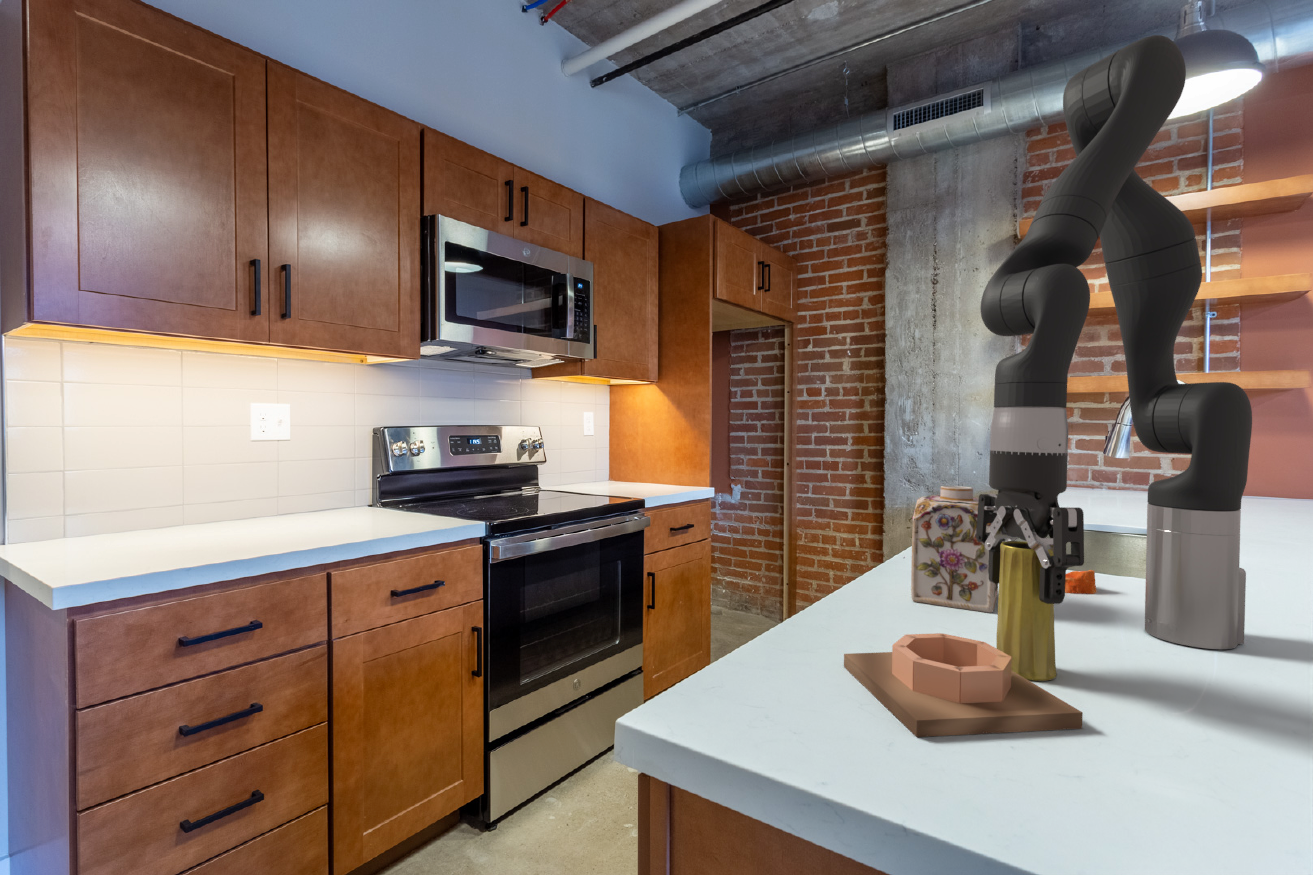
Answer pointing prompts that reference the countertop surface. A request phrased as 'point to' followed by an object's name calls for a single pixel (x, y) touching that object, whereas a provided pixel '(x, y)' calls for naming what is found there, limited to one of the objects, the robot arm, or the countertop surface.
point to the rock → (1080, 582)
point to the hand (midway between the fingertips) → (1023, 592)
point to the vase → (1024, 614)
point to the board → (961, 704)
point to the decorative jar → (950, 553)
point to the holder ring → (952, 667)
